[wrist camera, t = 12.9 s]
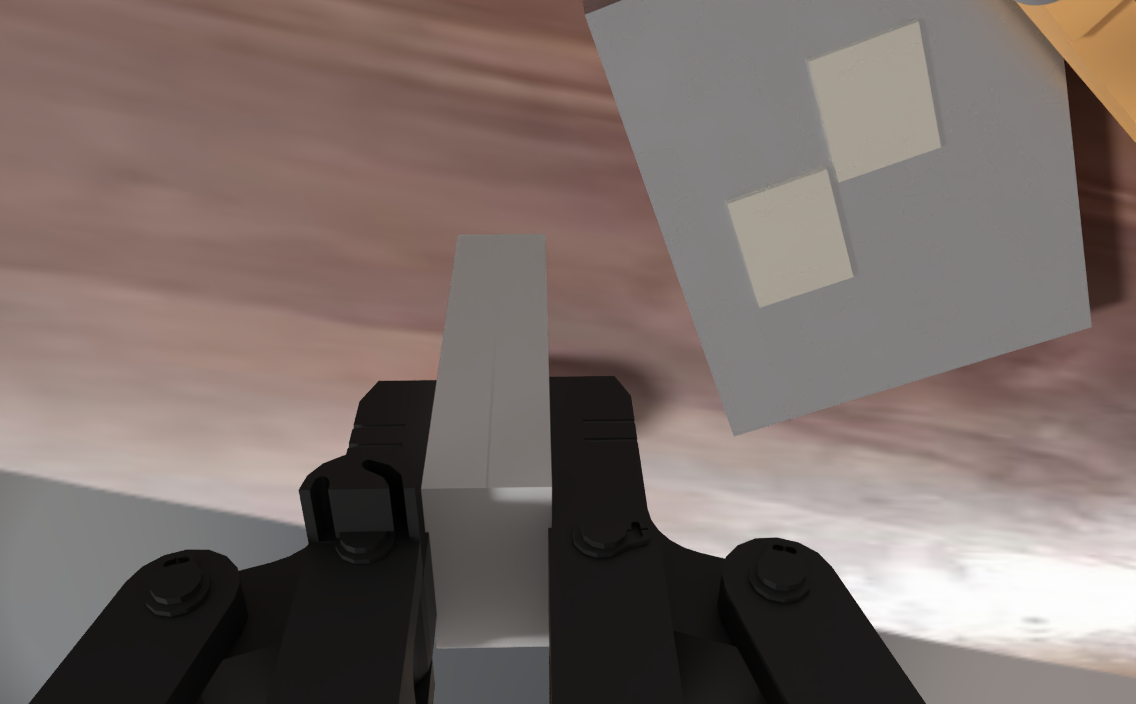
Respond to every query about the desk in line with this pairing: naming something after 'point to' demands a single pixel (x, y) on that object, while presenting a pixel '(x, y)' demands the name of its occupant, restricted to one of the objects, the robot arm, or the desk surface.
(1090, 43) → the bar
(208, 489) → the desk surface
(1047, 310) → the tray
